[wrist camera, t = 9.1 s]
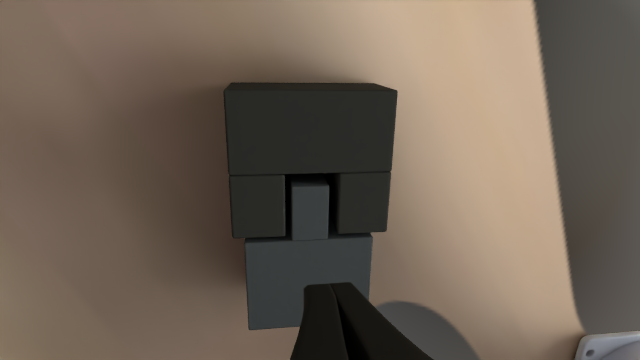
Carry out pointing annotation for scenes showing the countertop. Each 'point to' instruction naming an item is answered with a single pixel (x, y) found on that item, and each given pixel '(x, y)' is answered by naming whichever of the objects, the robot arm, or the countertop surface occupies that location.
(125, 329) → the countertop surface
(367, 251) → the grey t-shaped block
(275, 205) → the black notched block
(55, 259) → the countertop surface
